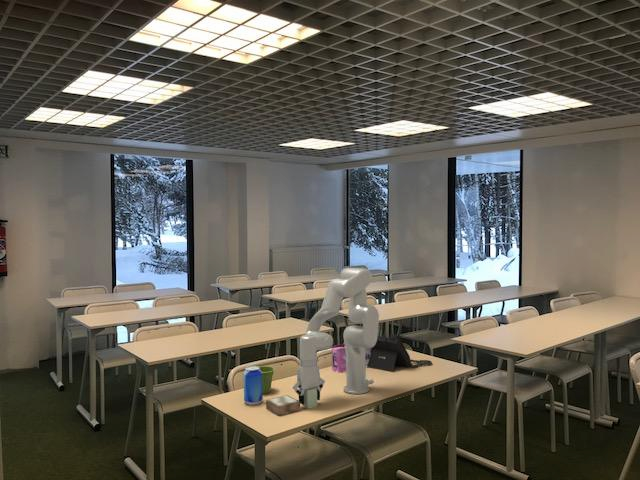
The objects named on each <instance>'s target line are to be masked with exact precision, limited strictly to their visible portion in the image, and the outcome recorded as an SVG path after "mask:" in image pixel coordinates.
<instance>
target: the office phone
mask: <svg viewBox="0 0 640 480" xmlns="http://www.w3.org/2000/svg"><path fill="white" fill-rule="evenodd" d="M413 363H416V364H413ZM432 364H433V362H432V360H427V359H425V360H423V359H419V360H416V359H411V357H410V354H409V352H408V350H407V349H406V346H405V345H404V343H403V342H402V340H401V338H400V337H399V335H397V334H395V333H391V334H390V335H389V337H387V336H381V335H378V336H377V342H376V344H375V346H374V347H372V348H371V356H370V359H369V362H368V365H367V366H368V367H367V368H373V369H377V370H378V369H379V370H384V371H387V372H394V369H395V365H400V366H406V367H408V368H418V367H423V366H425V367H426V366H430V365H432Z"/></svg>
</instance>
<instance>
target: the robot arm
mask: <svg viewBox="0 0 640 480" xmlns="http://www.w3.org/2000/svg"><path fill="white" fill-rule="evenodd" d="M372 280H373V274H372V272H371V271H370V270H369V269H367V268H360V267H345V268H343V269H342V270H341V271H340V278H333V279H331V280H329V282H328V285H327V288H326V292H325V294H324V298H323V301H322V304H321V307H320V309H319V310H318V311H317V312H316V313H315V314H314V315H313V317H311V319H310V320H309V322H308V324H307V327H306V330H305V334H303V335H301V336H300V337H299V358H300V359H299V362H300V363H299V366H298V368H297V375H296V383H295V384H294V385H293V386H292V389H293V390H294V392H295V393H296V394H297V395H298V401H300V405H302V404H304V395H303V393H304V391H305V390H307V389H311V388H317V401H320V400H321V399H320V398H321V391H322V389H323V387H324V384H325V383H326V380H325V379H323V378H321V374H320V369H319V365H318V363H319V361H320V360H319V358H318V354H317V352H318V351H326V350H328V349H330V348H332V346H334V338H333V337H332V335H331V334H329V333H326V332H323V331H320V329H321V327H322V326H323V325H324V323H326V321H327V320H330V319H332V318H334V317H335V316H338V315H339V314H340V313H339V312H340V309H341V306H342V303H343V299H344V298H349V301H348V314H347V315H348V320H349V321H350V322H352V323H355V324H360V325H362V326H360V325H354V324H353V325H349V326H347V327H345V329H344V331H343V344H345V348H346V373H345V374H346V375H345V376H346V377H345V378H346V385H345V386H344V387H343V391H344V392H345V393H347V394H353V395H360V394H365V393H368V392H369V391H370V386H369V385H372V384H374V383H375V382H374V379H370V380H369V379H367V372H366V371H367V370H366V369H367V367H366V357H365V351H364V348H372V347H374V346H375V344H376V342H377V336H379V335H378V333H379V322H380V314H379V311H378V308H376V307H375V306H374V305H372V304H368V299H367V298H368V294H367V293H368V292H367V289H366V288H367V287H368V286H370V284H371V282H372ZM363 347H364V348H363Z"/></svg>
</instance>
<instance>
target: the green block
mask: <svg viewBox="0 0 640 480" xmlns="http://www.w3.org/2000/svg"><path fill="white" fill-rule="evenodd" d="M303 395H304V404H301V406H302V407H304V408H306V409H311V408H312V409H313V408H315V407H318V400H317V388H311V389H307V390H305V391H304V393H303Z"/></svg>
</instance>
